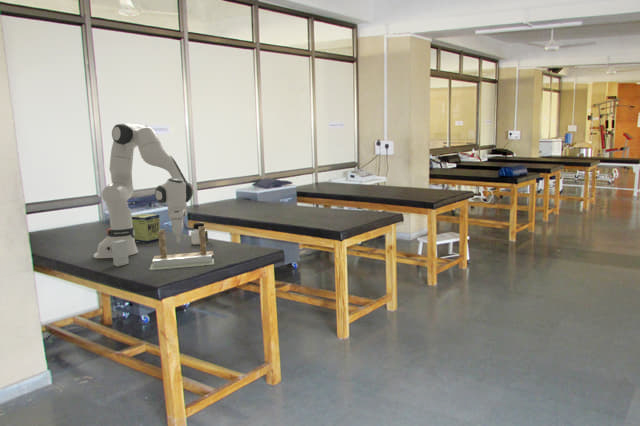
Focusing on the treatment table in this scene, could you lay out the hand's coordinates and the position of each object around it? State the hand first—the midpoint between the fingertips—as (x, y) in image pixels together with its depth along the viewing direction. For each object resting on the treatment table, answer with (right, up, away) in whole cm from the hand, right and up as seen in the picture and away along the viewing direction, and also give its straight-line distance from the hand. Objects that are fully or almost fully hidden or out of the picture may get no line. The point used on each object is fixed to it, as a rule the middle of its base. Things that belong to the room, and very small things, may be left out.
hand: (179, 240), depth 248 cm
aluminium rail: (+1, -12, +2) cm, 12 cm away
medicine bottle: (-2, -5, +50) cm, 51 cm away
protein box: (-37, -4, +63) cm, 73 cm away
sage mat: (+1, -12, +2) cm, 12 cm away
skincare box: (-31, -13, +7) cm, 34 cm away
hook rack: (-2, -10, +18) cm, 20 cm away
